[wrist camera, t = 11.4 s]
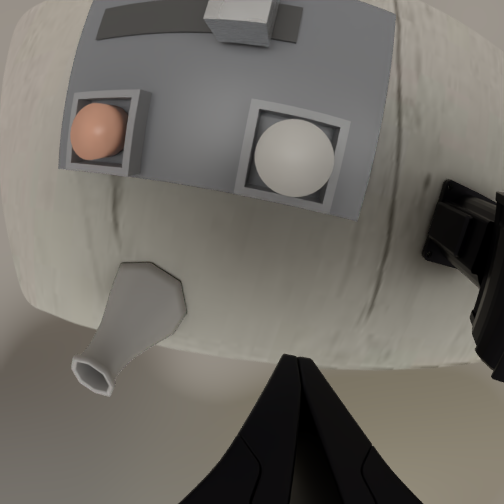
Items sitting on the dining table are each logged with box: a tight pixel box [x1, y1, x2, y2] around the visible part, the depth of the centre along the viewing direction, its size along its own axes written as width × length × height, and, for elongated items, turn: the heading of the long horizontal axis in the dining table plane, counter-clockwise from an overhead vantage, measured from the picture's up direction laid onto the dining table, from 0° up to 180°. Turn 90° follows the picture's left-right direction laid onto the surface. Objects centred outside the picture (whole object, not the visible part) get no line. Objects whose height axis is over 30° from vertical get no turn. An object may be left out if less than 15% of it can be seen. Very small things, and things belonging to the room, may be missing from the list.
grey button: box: [255, 119, 334, 197], centre depth 13 cm, size 4×4×2 cm
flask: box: [71, 263, 187, 396], centre depth 18 cm, size 7×7×10 cm
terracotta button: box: [70, 103, 128, 160], centre depth 15 cm, size 4×4×2 cm
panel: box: [58, 0, 396, 221], centre depth 14 cm, size 22×15×4 cm
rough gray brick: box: [203, 0, 280, 47], centre depth 10 cm, size 3×4×4 cm
